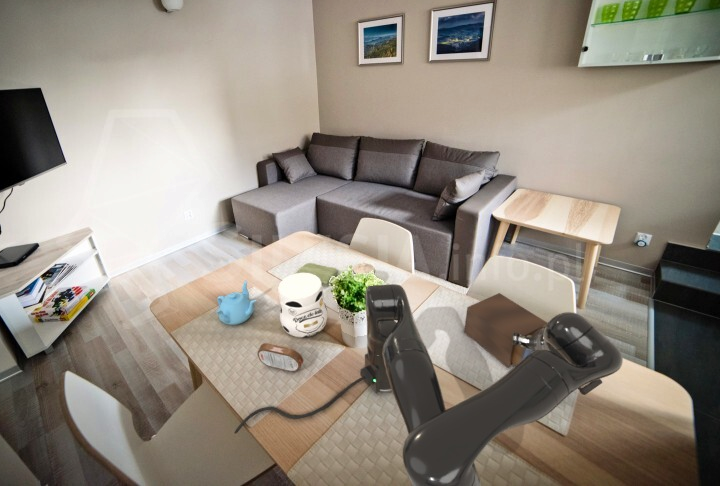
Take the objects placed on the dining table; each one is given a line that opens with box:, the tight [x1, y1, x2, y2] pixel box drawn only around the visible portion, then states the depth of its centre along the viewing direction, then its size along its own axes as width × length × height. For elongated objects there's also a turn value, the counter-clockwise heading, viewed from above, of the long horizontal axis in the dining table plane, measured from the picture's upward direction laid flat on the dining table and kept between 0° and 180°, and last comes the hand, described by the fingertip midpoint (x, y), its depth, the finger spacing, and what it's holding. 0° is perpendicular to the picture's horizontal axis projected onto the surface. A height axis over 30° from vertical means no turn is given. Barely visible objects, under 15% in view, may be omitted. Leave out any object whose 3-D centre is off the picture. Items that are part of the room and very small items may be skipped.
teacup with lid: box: [352, 262, 376, 275], centre depth 137 cm, size 12×9×12 cm
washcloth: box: [293, 262, 339, 287], centre depth 148 cm, size 13×18×3 cm
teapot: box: [214, 280, 257, 326], centre depth 126 cm, size 15×15×10 cm
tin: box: [257, 342, 304, 373], centre depth 103 cm, size 15×3×8 cm, turn 71°
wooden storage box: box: [463, 292, 548, 369], centre depth 105 cm, size 17×15×11 cm
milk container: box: [277, 272, 328, 339], centre depth 117 cm, size 17×17×18 cm
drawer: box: [511, 327, 603, 396], centre depth 92 cm, size 20×14×9 cm
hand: (537, 346), depth 83 cm, fingers closed on cup, 6 cm apart
